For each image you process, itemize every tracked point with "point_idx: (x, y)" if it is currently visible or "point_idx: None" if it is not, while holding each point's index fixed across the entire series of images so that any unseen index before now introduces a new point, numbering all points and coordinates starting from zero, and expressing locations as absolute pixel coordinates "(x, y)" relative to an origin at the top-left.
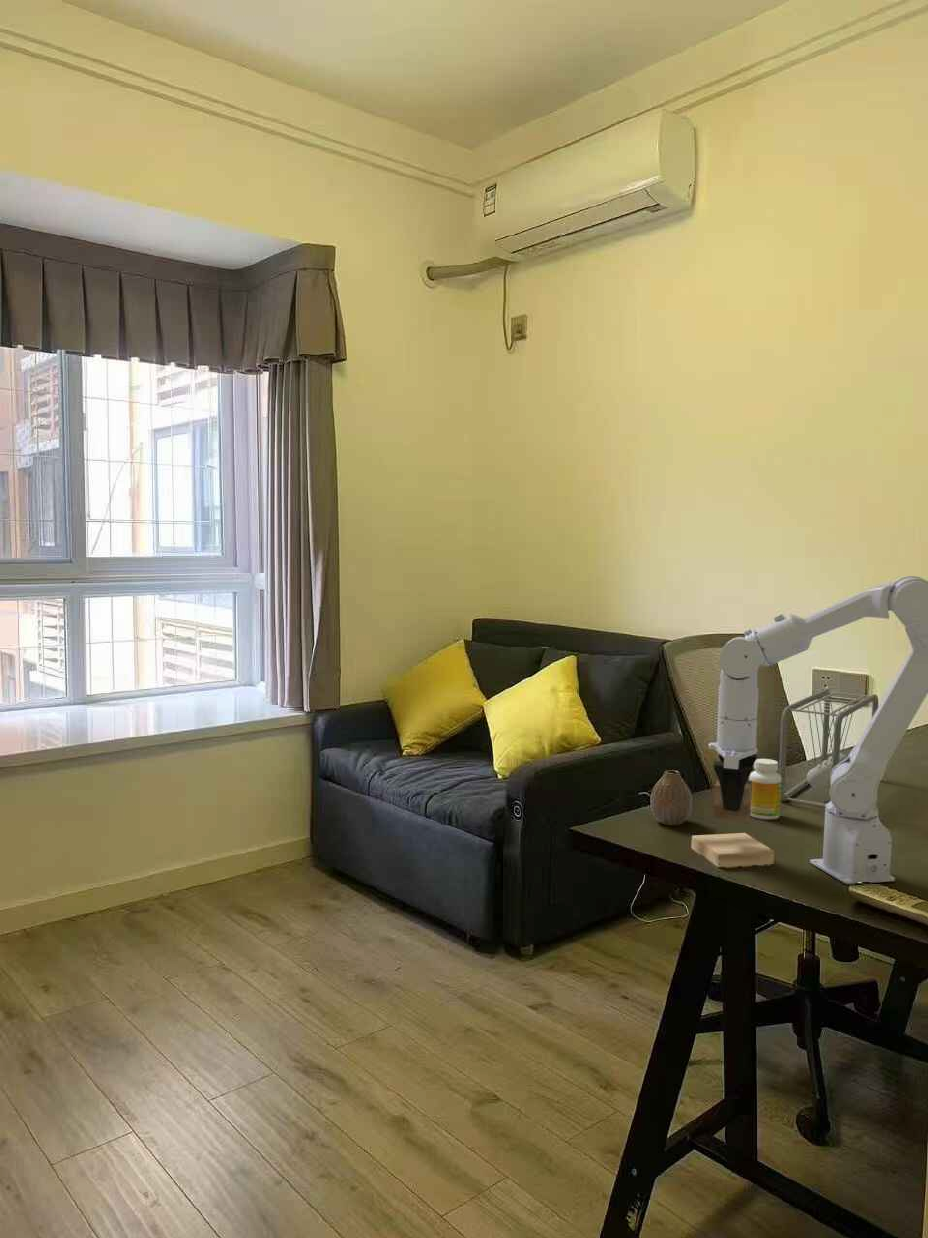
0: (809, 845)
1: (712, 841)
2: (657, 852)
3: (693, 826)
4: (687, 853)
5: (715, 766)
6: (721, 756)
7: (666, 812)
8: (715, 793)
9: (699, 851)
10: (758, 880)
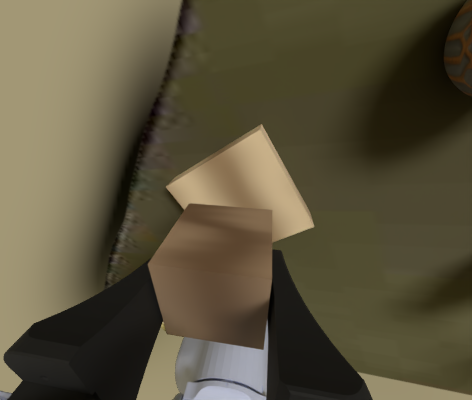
0: (335, 290)
1: (235, 174)
2: (205, 51)
3: (443, 109)
4: (226, 120)
5: (10, 347)
6: (283, 393)
7: (462, 20)
8: (161, 245)
9: (229, 144)
10: (156, 227)
